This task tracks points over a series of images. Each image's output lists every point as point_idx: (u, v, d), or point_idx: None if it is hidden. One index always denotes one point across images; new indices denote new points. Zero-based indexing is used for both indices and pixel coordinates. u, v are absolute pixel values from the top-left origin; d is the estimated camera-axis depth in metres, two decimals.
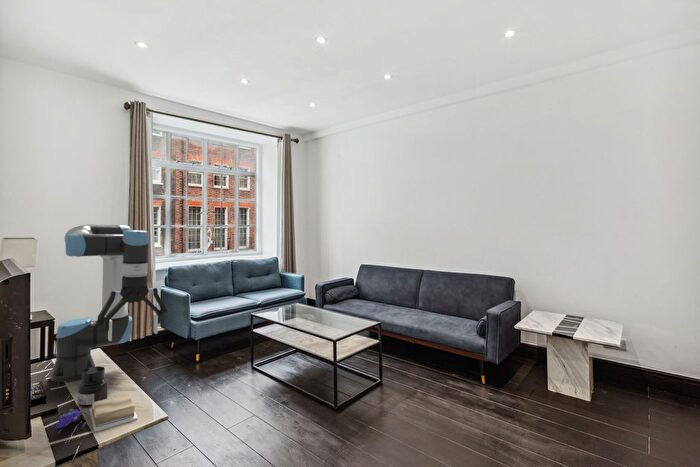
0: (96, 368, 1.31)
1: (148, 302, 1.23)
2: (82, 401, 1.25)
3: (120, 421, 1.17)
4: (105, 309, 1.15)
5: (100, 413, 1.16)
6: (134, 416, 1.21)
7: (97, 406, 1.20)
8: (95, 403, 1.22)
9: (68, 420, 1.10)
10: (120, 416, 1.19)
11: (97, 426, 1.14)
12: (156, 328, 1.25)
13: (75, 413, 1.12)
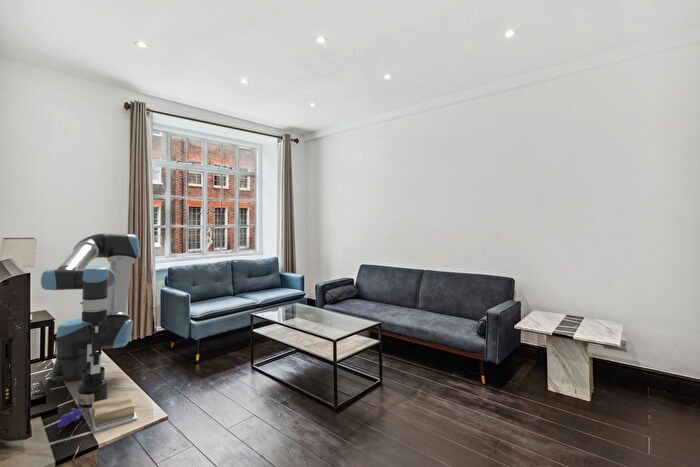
0: None
1: (91, 339, 1.25)
2: (82, 401, 1.25)
3: (120, 421, 1.17)
4: None
5: (100, 413, 1.16)
6: (134, 416, 1.21)
7: (97, 406, 1.20)
8: (95, 403, 1.22)
9: (70, 419, 1.11)
10: (120, 416, 1.19)
11: (97, 426, 1.14)
12: None
13: (77, 412, 1.13)
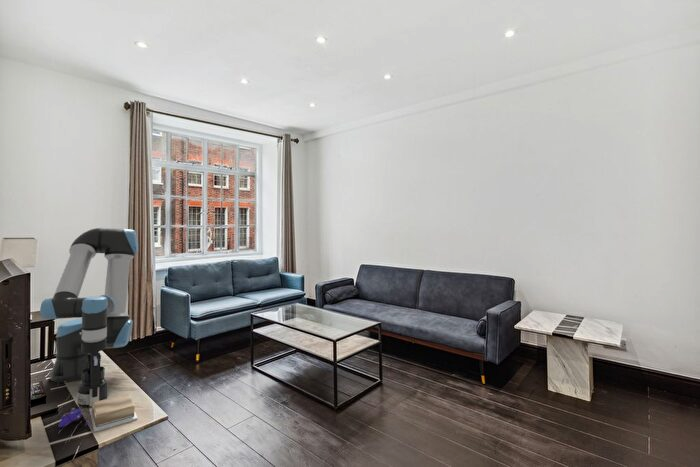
0: None
1: (90, 370, 1.26)
2: (82, 401, 1.25)
3: (120, 421, 1.17)
4: (87, 364, 1.34)
5: (100, 413, 1.16)
6: (134, 416, 1.21)
7: (97, 406, 1.20)
8: (95, 403, 1.22)
9: (71, 419, 1.11)
10: (120, 416, 1.19)
11: (97, 426, 1.14)
12: None
13: (78, 412, 1.13)
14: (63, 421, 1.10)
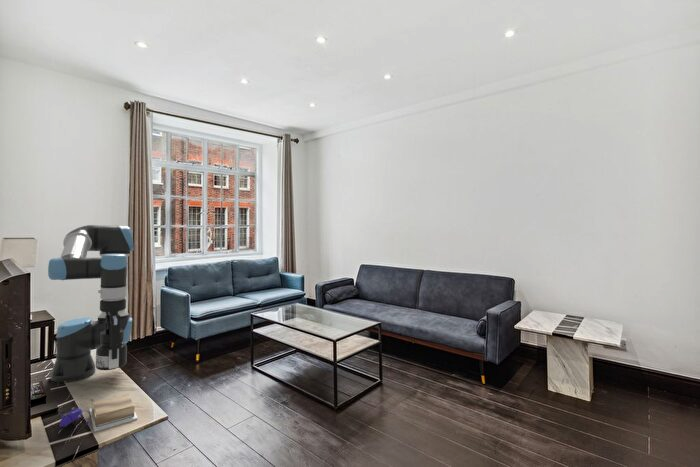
0: None
1: (109, 331, 1.18)
2: (100, 364, 1.17)
3: (120, 421, 1.17)
4: (105, 327, 1.26)
5: (100, 413, 1.16)
6: (134, 416, 1.21)
7: (97, 406, 1.20)
8: (95, 403, 1.22)
9: (72, 418, 1.11)
10: (120, 416, 1.19)
11: (97, 426, 1.14)
12: (109, 363, 1.17)
13: (79, 411, 1.14)
14: (64, 421, 1.10)
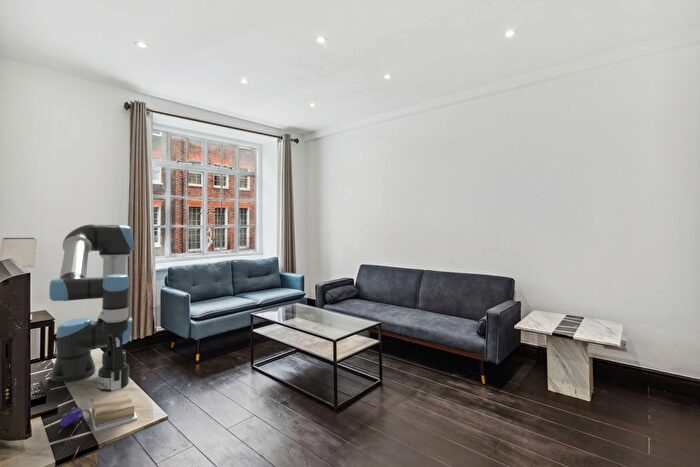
0: None
1: None
2: (102, 385, 1.17)
3: (120, 421, 1.17)
4: (107, 347, 1.26)
5: (100, 413, 1.16)
6: (134, 416, 1.21)
7: (97, 406, 1.20)
8: (95, 403, 1.22)
9: (73, 418, 1.12)
10: (120, 416, 1.19)
11: (97, 426, 1.14)
12: (111, 384, 1.17)
13: (79, 411, 1.14)
14: (65, 420, 1.10)
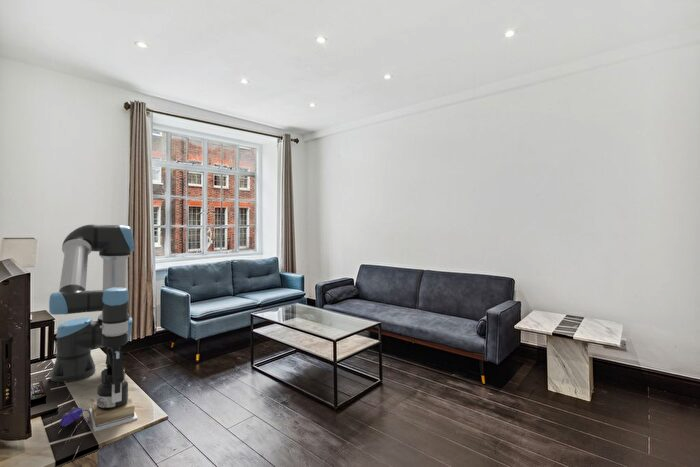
0: None
1: (111, 365, 1.18)
2: (102, 404, 1.17)
3: (120, 421, 1.17)
4: (106, 356, 1.27)
5: (100, 413, 1.16)
6: (134, 416, 1.21)
7: None
8: (95, 403, 1.22)
9: (74, 417, 1.12)
10: (120, 416, 1.19)
11: (97, 426, 1.14)
12: None
13: (80, 410, 1.14)
14: (66, 420, 1.11)
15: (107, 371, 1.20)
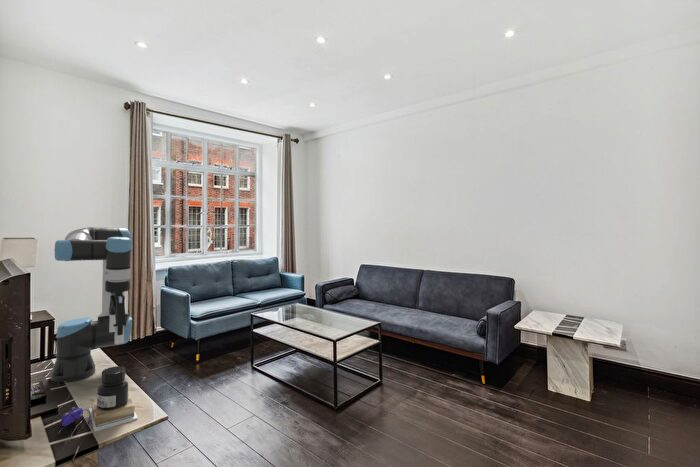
0: (116, 368, 1.23)
1: (114, 309, 1.24)
2: (102, 404, 1.17)
3: (120, 421, 1.17)
4: (109, 303, 1.33)
5: (100, 413, 1.16)
6: (134, 416, 1.21)
7: None
8: (95, 403, 1.22)
9: (75, 417, 1.12)
10: (120, 416, 1.19)
11: (97, 426, 1.14)
12: (114, 338, 1.22)
13: (81, 410, 1.14)
14: (67, 420, 1.11)
15: (107, 371, 1.20)
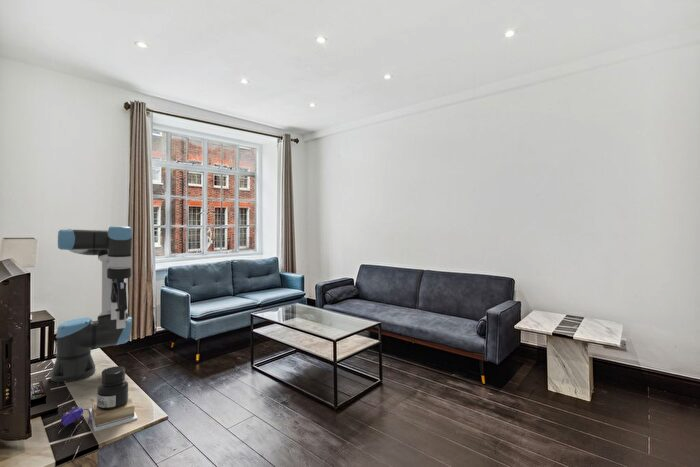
0: (116, 368, 1.23)
1: (116, 295, 1.28)
2: (102, 404, 1.17)
3: (120, 421, 1.17)
4: (111, 291, 1.37)
5: (100, 413, 1.16)
6: (134, 416, 1.21)
7: None
8: (95, 403, 1.22)
9: (75, 416, 1.12)
10: (120, 416, 1.19)
11: (97, 426, 1.14)
12: (116, 323, 1.26)
13: (81, 410, 1.15)
14: (67, 419, 1.11)
15: (107, 371, 1.20)
